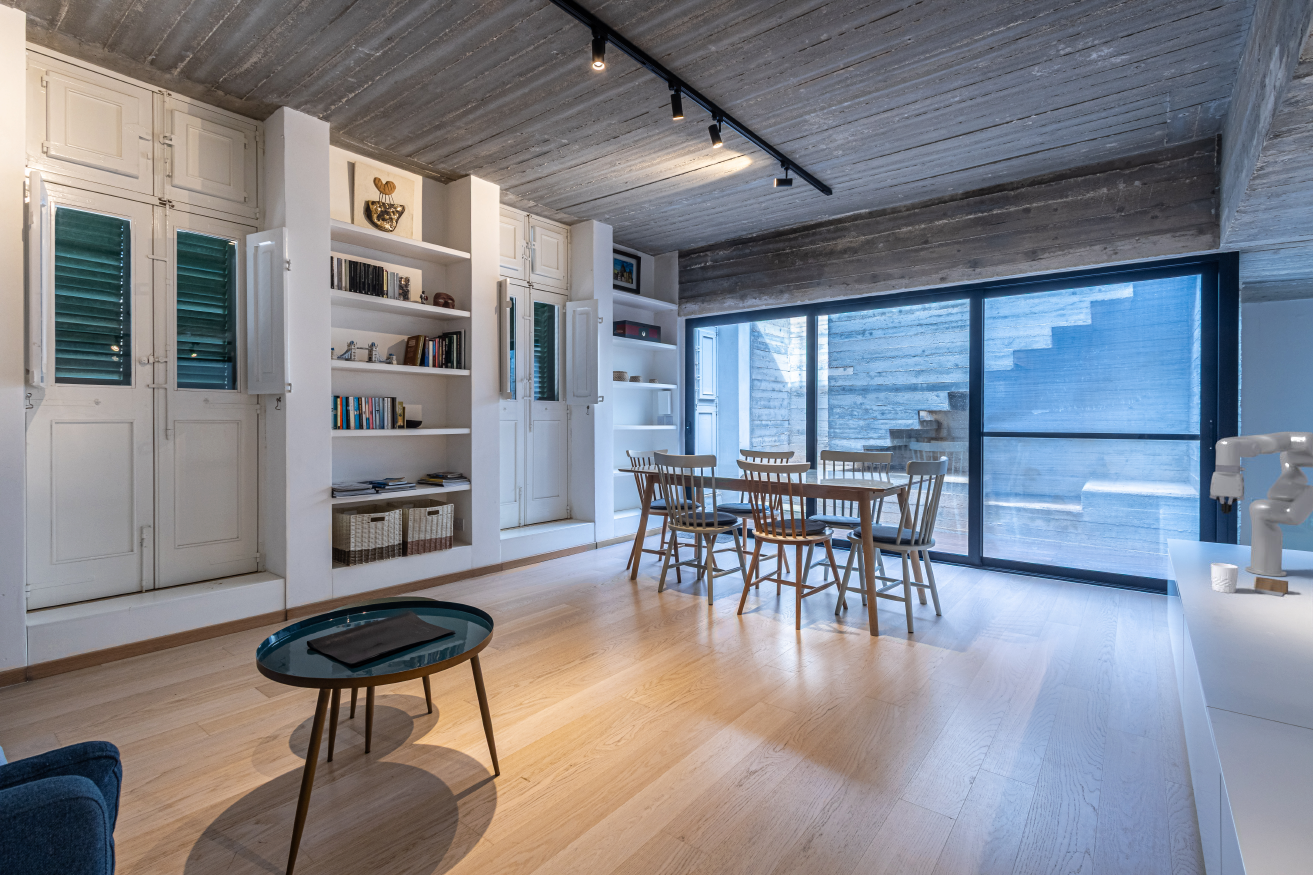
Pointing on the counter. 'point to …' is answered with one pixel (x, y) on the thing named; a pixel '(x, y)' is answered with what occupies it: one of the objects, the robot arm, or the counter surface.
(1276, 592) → the mat
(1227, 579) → the white cup
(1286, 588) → the block
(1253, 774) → the counter surface
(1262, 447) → the robot arm
